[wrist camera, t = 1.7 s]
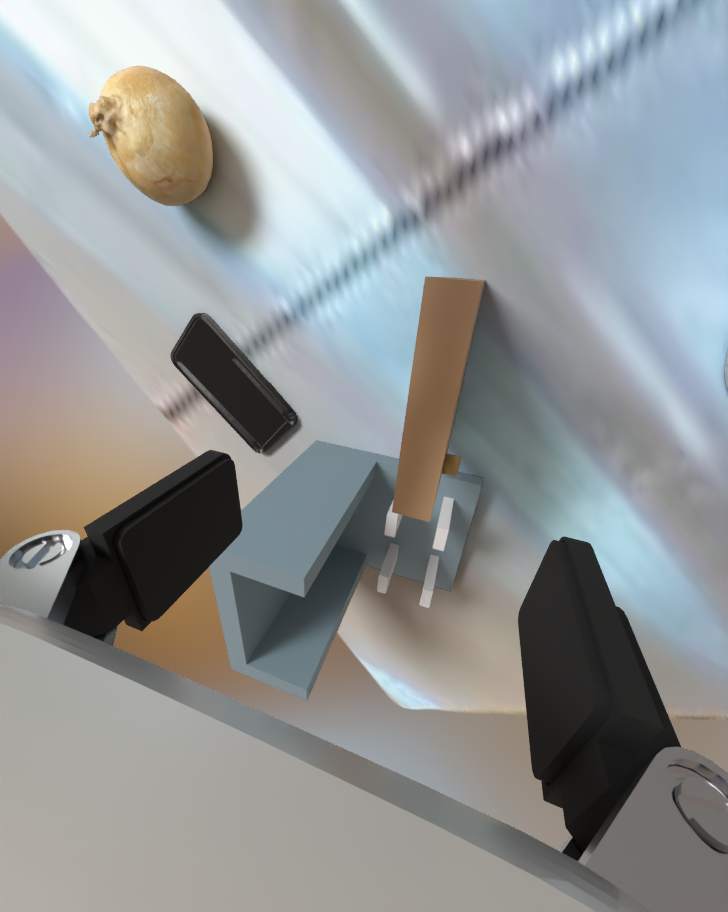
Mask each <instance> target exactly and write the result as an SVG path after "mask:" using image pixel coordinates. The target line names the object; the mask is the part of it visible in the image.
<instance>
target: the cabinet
mask: <svg viewBox="0 0 728 912" xmlns="http://www.w3.org/2000/svg"><path fill="white" fill-rule="evenodd" d="M398 465H399V459H397V458H392V457H388V456H383V455H379V454H374V453H370V452H365V451H361V450H356V449H352V448H347V447H343V446H338V445H334V444H329V443H325V442H320V441H315V442H314V443H313V444H312V445H311V446H310V447H309V448H308V449H307V450H306V451H305V452H304V453H303V454H301V455H300V456H299V457H298V458H297V459H296V460H295V461H294V462H293V463H292V464H291V465H290V466H289V467H287V468H286V469H285V470H284V471H283V472H282V473H281V474H280V475H279V476H278V477H277V478H276V479H275V480H274V481H272V482H271V483H270V484H269V485H268V486H267V487H266V488H265V489H264V490H263V491H262V492H261V493H260V494H259V495H257V496H256V497H255V498H254V499H253V500H252V501H251V502H250V503H249V504H248V505H247V506H246V507H245V508H244V509H242V510H241V516H242V523H243V527H242V531H241V533H240V535H239V536H238V537H237V538H236V539H235V540H234V541H233V542H232V543H231V544H230V545H229V546H228V548H227V549H226V550H225V551H224V552H223V553H222V554H221V555H220V556H219V557H218V558H217V559H216V560H215V561H214V562H213V563H212V564H211V565H210V566H209V569H210V573H211V578H212V582H213V587H214V592H215V596H216V601H217V605H218V610H219V615H220V619H221V624H222V628H223V633H224V637H225V642H226V647H227V651H228V656H229V661H230V665H231V669H233V670H236V671H238V672H240V673H243V674H245V675H247V676H249V677H252V678H254V679H257V680H259V681H261V682H263V683H266V684H268V685H270V686H272V687H275V688H277V689H279V690H282V691H284V692H286V693H289V694H291V695H293V696H296V697H298V698H300V699H302V700H305V701H307V700H308V697H309V695H310V693H311V690H312V688H313V686H314V684H315V681H316V679H317V676H318V674H319V672H320V670H321V667H322V665H323V662H324V660H325V658H326V656H327V653H328V651H329V649H330V646H331V644H332V642H333V640H334V637H335V635H336V633H337V630H338V628H339V626H340V623H341V621H342V619H343V617H344V614H345V612H346V610H347V607H348V605H349V603H350V600H351V598H352V596H353V593H354V591H355V589H356V587H357V584H358V582H359V580H360V577H361V575H362V573H363V570H364V568H365V566H366V565H367V566H370V567H373V568H376V569H380V570H381V571H380V573H379V578H378V585H377V592H380V593H383V594H386V592H387V589H388V586H389V583H390V580H391V577H392V574H396V575H399V576H402V577H405V578H409V579H412V580H415V581H418V582H422V583H424V585H423V590H422V595H421V599H420V604H419V605H420V606H423V607H426V608H429V606H430V602H431V598H432V594H433V589H434V586H435V587H438V588H441V589H444V590H447V591H451V589H452V586H453V582H454V579H455V576H456V572H457V569H458V566H459V562H460V559H461V555H462V552H463V549H464V545H465V542H466V538H467V535H468V532H469V528H470V525H471V521H472V518H473V515H474V511H475V508H476V505H477V501H478V498H479V494H480V491H481V488H482V477H478V476H473V475H469V474H464V473H460V472H458V473H457V477H454V476H450V475H446V474H442V475H441V479H440V483H439V487H438V491H437V496H436V500H435V504H434V508H433V512H432V516H431V520H430V522H427V521H423V520H419V519H416V518H412V517H408V516H404V515H400V514H397V513H393V512H392V507H393V500H394V493H395V486H396V479H397V472H398Z"/></svg>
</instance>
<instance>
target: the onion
mask: <svg viewBox="0 0 728 912" xmlns="http://www.w3.org/2000/svg"><path fill="white" fill-rule="evenodd" d="M89 116H90V119H91V121H92V123H93V124H94V127H95V129H94V130H93V131H92V133H89V137H92V136H93V138H94V137H95V136H97V134H98V135H99V133H98V132H99V131H102V132H103V135H104V138H105V141H106V144H107V146H108V149H109V151H110V153H111V155H112V157H113V158H114V160H115V162H116V164H117V165H118V167H119V169H120V170H121V172H122V173H123V174H124V175H125V177H126V178H127V179H128V180H129V181H130V182H131V183H132V184H133V185H134V186H135V187H136V188H137V189H138V190H140V191H141V192H142V193H143V194H145V195H146V196H148V197H149V198H151V199H152V200H154V201H156V202H158V203H161V204H163V205H167V206H179V205H183V204H186V203H189V202H191V201H193V200H194V199H196V198H197V197H198V196H200V195H201V194H202V193H203V192H205V191H206V189H207V186H208V182H209V180H210V178H211V175H212V169H213V147H212V141H211V136H210V132H209V129H208V126H207V123H206V121H205V119H204V116H203V114H202V112H201V110H200V109H199V107H198V105H197V104H196V103H195V101H194V100H193V99H192V97H191V96H190V94H189V93H188V92H187V91H186V90H185V89H184V88H183V87H182V86H181V85H180V84H179V83H177V82H176V81H175V80H174V79H172V78H171V77H169V76H168V75H166V74H164V73H162V72H160V71H158V70H156V69H153V68H149V67H145V66H133V67H129V68H126V69H123V70H121V71H119V72H117V73H115V74H114V75H113V76H111V77H110V78H109V79H108V80H107V82H106V83H105V85H104V87H103V89H102V91H101V94H100V97H99V100H97V102H96V103H95V104H94V103H90V105H89Z"/></svg>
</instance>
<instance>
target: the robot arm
mask: <svg viewBox="0 0 728 912" xmlns="http://www.w3.org/2000/svg"><path fill="white" fill-rule="evenodd" d="M724 370H725V381H726V386H727V389H728V350H727V356H726V361H725V367H724ZM242 527H243V523H242V516H241V508H240V501H239V493H238V486H237V479H236V471H235V464H234V462H233V460H231V457H230V456H229V455H228V454H225V453H221V452H217V451H213V450H209V451H207V452H205V453H204V454H202V455H200V456H199V457H197V458H195V459H194V460H192V461H191V462H189V463H187V464H186V465H184V466H182V467H181V468H180V469H178V470H176V471H174V472H173V473H171V474H169V475H168V476H166V477H165V478H163V479H161V480H160V481H158V482H157V483H155V484H153V485H152V486H150V487H148V488H147V489H145V490H144V491H142V492H140V493H139V494H137V495H135V496H134V497H132V498H131V499H129V500H127V501H126V502H124V503H122V504H121V505H119V506H118V507H116V508H114V509H113V510H111V511H110V512H108V513H106V514H105V515H103V516H101V517H100V518H98V519H97V520H95V521H93V522H92V523H90V524H89V525H87V526H85V527H84V529H85V531H86V533H87V536H88V537H86V538H85V539H83V540H82V541H81V539H80V537H79V535H78V534H77V533H75V532H73V531H68V530H57V531H50V532H46V533H42V534H39V535H36V536H33V537H31V538H28V539H27V540H25V541H23V542H21V543H19V544H17V545H16V546H14V547H13V548H12V549H10V550H9V551H8V552H7V553H6V554H5V555H4V556H3V557H2V558H1V560H0V912H728V773H727V772H726V771H724V770H723V769H722V768H720V767H719V766H718V765H716V764H715V763H714V762H712V761H711V760H709V759H707V758H705V757H704V756H702V755H700V754H698V753H696V752H694V751H691V750H688V749H684V748H681V746H680V743H679V741H678V738H677V736H676V734H675V731H674V729H673V726H672V724H671V722H670V719H669V717H668V714H667V712H666V710H665V707H664V705H663V702H662V700H661V698H660V695H659V693H658V690H657V688H656V686H655V683H654V681H653V678H652V676H651V674H650V671H649V669H648V666H647V664H646V662H645V659H644V657H643V654H642V652H641V650H640V647H639V645H638V643H637V640H636V638H635V635H634V633H633V631H632V628H631V626H630V623H629V621H628V619H627V617H626V615H625V613H624V611H623V610H622V609H620V608H619V607H616V606H615V603H614V601H613V598H612V596H611V593H610V591H609V588H608V586H607V583H606V581H605V578H604V576H603V573H602V570H601V568H600V565H599V563H598V560H597V558H596V555H595V553H594V550H593V548H592V546H591V544H590V543H588V542H584V541H580V540H576V539H572V538H568V537H562V538H561V539H560V540H559V541H556V540H553V541H552V542H551V543H550V545H549V547H548V549H547V552H546V554H545V556H544V558H543V560H542V562H541V565H540V567H539V569H538V571H537V573H536V575H535V578H534V580H533V582H532V584H531V586H530V588H529V590H528V593H527V595H526V597H525V599H524V601H523V603H522V606H521V608H520V611H519V616H518V625H519V636H520V647H521V657H522V668H523V679H524V689H525V700H526V711H527V720H528V732H529V742H530V753H531V763H532V771H533V774H534V776H535V778H536V779H539V780H541V781H542V790H543V799H544V801H546V802H549V803H551V804H554V805H556V806H558V807H561V808H563V812H564V819H565V826H566V828H567V830H568V831H569V833H570V835H569V837H568V838H567V839H566V841H565V842H564V843H563V845H562V846H561V848H560V849H559V850H556V849H554V848H552V847H550V846H548V845H546V844H545V843H543V842H541V841H539V840H537V839H535V838H533V837H531V836H529V835H528V834H526V833H524V832H522V831H520V830H518V829H515V828H514V827H512V826H510V825H508V824H505V823H503V822H501V821H499V820H497V819H495V818H493V817H490V816H489V815H486V814H484V813H482V812H480V811H478V810H476V809H474V808H472V807H470V806H467V805H465V804H463V803H461V802H458V801H457V800H455V799H453V798H451V797H448V796H446V795H444V794H442V793H440V792H438V791H436V790H434V789H431V788H429V787H427V786H425V785H423V784H421V783H418V782H416V781H414V780H412V779H410V778H407V777H405V776H403V775H400V774H399V773H396V772H394V771H392V770H390V769H387V768H385V767H383V766H381V765H379V764H376V763H374V762H372V761H370V760H368V759H365V758H363V757H361V756H359V755H357V754H354V753H352V752H350V751H348V750H345V749H343V748H341V747H339V746H337V745H334V744H332V743H330V742H328V741H326V740H323V739H321V738H319V737H317V736H314V735H312V734H310V733H308V732H305V731H303V730H301V729H299V728H297V727H294V726H292V725H290V724H288V723H285V722H283V721H281V720H279V719H277V718H274V717H272V716H270V715H268V714H265V713H263V712H261V711H259V710H256V709H254V708H252V707H250V706H247V705H245V704H243V703H241V702H238V701H236V700H234V699H232V698H229V697H227V696H225V695H223V694H220V693H218V692H216V691H214V690H211V689H209V688H207V687H205V686H202V685H200V684H198V683H196V682H193V681H191V680H189V679H187V678H184V677H182V676H180V675H178V674H175V673H173V672H171V671H169V670H166V669H164V668H162V667H160V666H157V665H155V664H153V663H150V662H148V661H146V660H143V659H141V658H139V657H137V656H134V655H132V654H130V653H128V652H125V651H123V650H121V649H118V648H116V647H114V646H113V643H114V639H115V635H116V630H117V626H118V625H119V624H120V623H121V622H122V621H123V620H125V623H126V625H128V626H131V627H133V628H136V629H138V630H140V631H143V630H144V629H145V628H146V626H148V625H149V624H150V623H151V621H155V620H157V619H159V618H160V617H161V616H162V615H163V614H164V613H165V612H166V611H167V610H168V609H169V608H170V606H171V605H173V604H174V602H175V601H176V600H177V599H178V598H179V597H180V596H181V595H182V594H183V593H184V592H185V591H186V590H187V589H188V588H189V587H190V586H191V585H192V584H193V583H194V582H195V581H196V580H197V578H199V577H200V575H201V574H202V573H203V572H204V571H205V570H206V569H207V568H208V567H209V566H210V565H211V564H212V563H213V562H214V561H215V560H216V559H217V558H218V557H219V556H220V555H221V554H222V553H223V552H224V551H225V550H226V549H227V548H228V546H229V545H230V544H231V543H232V542H233V541H234V540H235V539H236V538H237V537H238V536H239V535H240V533H241V531H242Z"/></svg>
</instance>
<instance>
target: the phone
mask: <svg viewBox="0 0 728 912" xmlns="http://www.w3.org/2000/svg"><path fill="white" fill-rule="evenodd" d="M171 360H172V362H173V364H174V365H175V367H176V368H177V369H178V370H179V371H180V372H181V373H182V374H183V375H184V376H185V377H186V378H187V380H188V381H189V382H190V383H191V384H192V385H193V386H194V387H195V388H196V389H197V390H198V391H199V392H200V393H201V394H202V396H203V397H204V398H205V399H206V400H207V401H208V402H209V403H210V404H211V405H212V406H213V407H214V408H215V409H216V411H217V412H218V413H219V414H220V415H221V416H222V417H223V418H224V419H225V420H226V421H227V422H228V423H229V424H230V426H231V427H232V428H233V429H234V430H235V431H236V432H237V433H238V434H239V435H240V436H241V437H242V438H243V439H244V440H245V442H246V443H247V444H248V445H249V446H250V447H251V448H252V449H253V450H254V451H255V452H257V453H264V452H265V451H267V450H268V449H269V448H270V447H271V446H272V445H273V444H274V443H275V442H277V441H278V440H279V439H280V438H281V437H282V436H283V435H284V434H285V433H286V432H287V431H288V430H289V429H290V428H292V427H293V426H294V425H295V423H296V422H297V416H296V413H295V412H294V410H293V409H292V408H291V407H290V406H289V405H288V404H287V402H286V401H285V400H284V399H283V398H282V397H281V396H280V395H279V393H278V392H277V391H276V390H275V389H274V388H273V386H272V385H271V384H270V383H269V382H268V381H267V380H266V379H265V378H264V377H263V375H262V374H261V373H260V372H259V371H258V370H257V369H256V368H255V366H254V365H253V364H252V363H251V362H250V361H249V360H248V358H247V357H246V356H245V355H244V354H243V353H242V352H241V351H240V349H239V348H238V347H237V346H236V345H235V344H234V343H233V342H232V340H231V339H230V338H229V337H228V336H227V335H226V334H225V333H224V331H223V330H222V329H221V328H220V327H219V326H218V325H217V324H216V322H215V321H214V320H213V319H212V318H211V317H210V316H209V315H208V314H206V313H198V314H195V315H193V317H192V318H191V320H190V322H189V323H188V325H187V327H186V328H185V330H184V332H183V333H182V335H181V337H180V338H179V340H178V342H177V343H176V345H175V347H174V348H173V350H172V352H171Z"/></svg>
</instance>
